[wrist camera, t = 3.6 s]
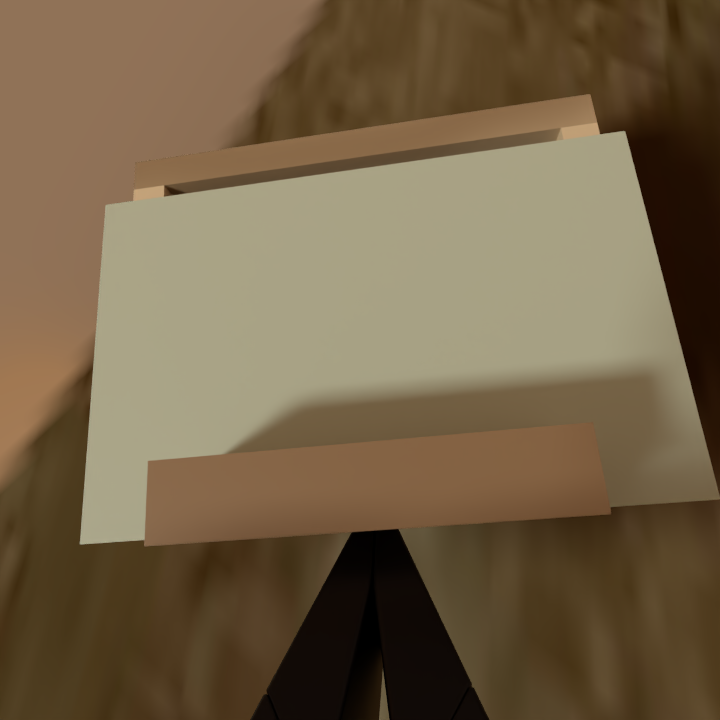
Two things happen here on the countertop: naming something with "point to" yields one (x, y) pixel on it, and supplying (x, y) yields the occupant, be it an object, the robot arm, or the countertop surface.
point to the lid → (388, 352)
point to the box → (368, 147)
